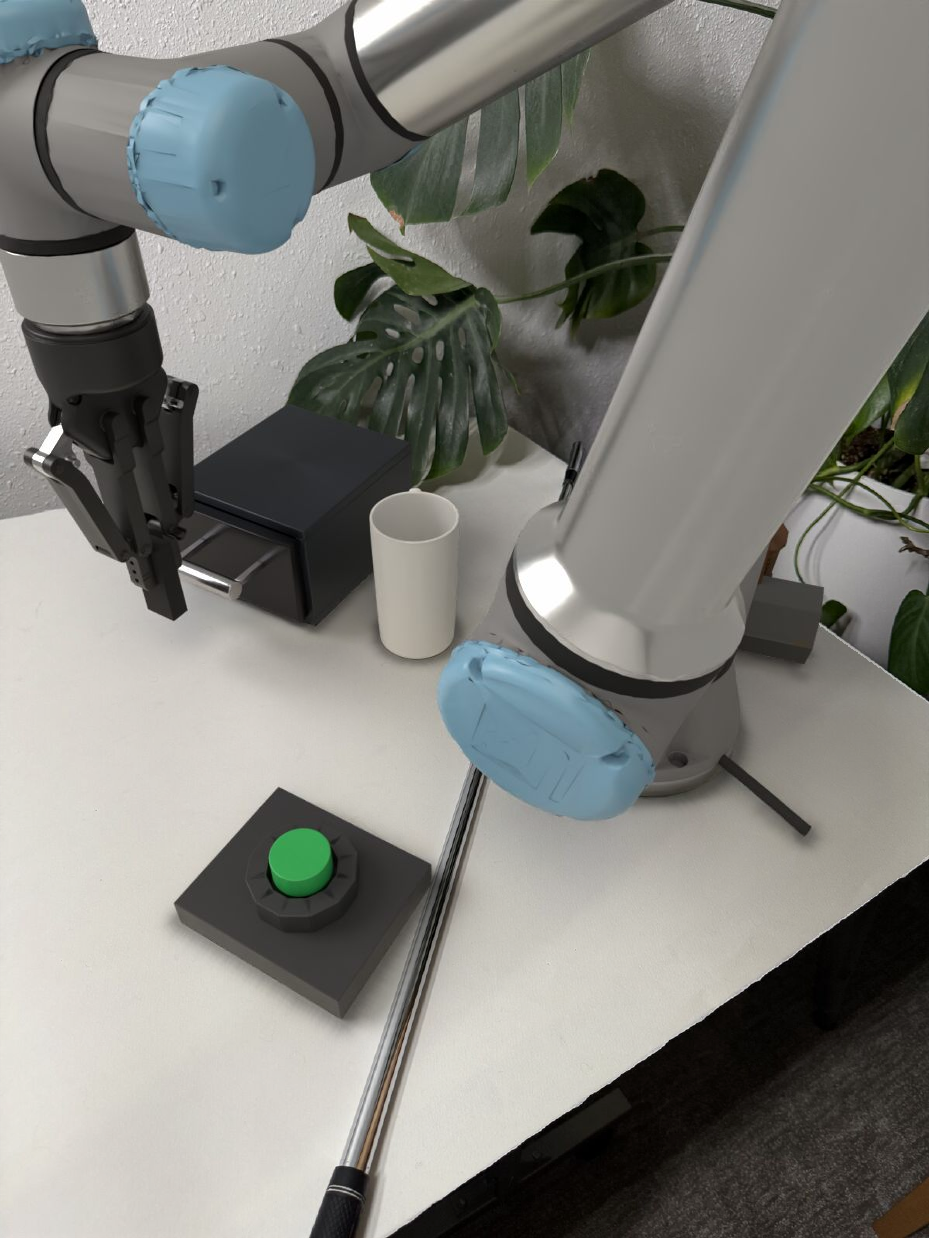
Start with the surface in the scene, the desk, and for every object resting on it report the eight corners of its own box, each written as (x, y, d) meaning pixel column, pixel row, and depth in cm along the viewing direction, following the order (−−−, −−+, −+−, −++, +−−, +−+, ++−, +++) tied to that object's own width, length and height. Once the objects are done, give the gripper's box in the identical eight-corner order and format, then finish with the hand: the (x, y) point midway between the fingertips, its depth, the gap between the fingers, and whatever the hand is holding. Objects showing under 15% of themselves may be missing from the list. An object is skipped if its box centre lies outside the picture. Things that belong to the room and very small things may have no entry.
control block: (431, 883, 56) (431, 847, 54) (341, 1019, 50) (335, 986, 47) (282, 806, 61) (275, 769, 58) (180, 922, 54) (166, 886, 51)
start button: (344, 860, 53) (342, 843, 52) (308, 907, 51) (305, 890, 50) (297, 835, 55) (294, 818, 53) (259, 879, 52) (255, 863, 51)
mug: (458, 662, 71) (460, 543, 63) (375, 662, 71) (367, 543, 63) (455, 583, 79) (457, 468, 71) (380, 584, 79) (373, 468, 71)
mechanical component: (590, 636, 78) (615, 543, 82) (794, 681, 74) (810, 580, 78) (590, 581, 69) (619, 479, 73) (823, 628, 65) (839, 518, 69)
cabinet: (315, 626, 74) (303, 532, 68) (191, 574, 79) (168, 481, 73) (413, 531, 85) (411, 442, 78) (298, 491, 90) (287, 403, 83)
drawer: (266, 655, 70) (252, 578, 65) (148, 603, 75) (126, 527, 69) (394, 534, 83) (391, 461, 78) (287, 496, 87) (277, 425, 82)
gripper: (123, 263, 58) (191, 550, 73) (-53, 333, 49) (66, 641, 65) (210, 287, 55) (261, 580, 71) (39, 365, 46) (140, 679, 62)
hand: (167, 609), depth 68 cm, fingers closed
